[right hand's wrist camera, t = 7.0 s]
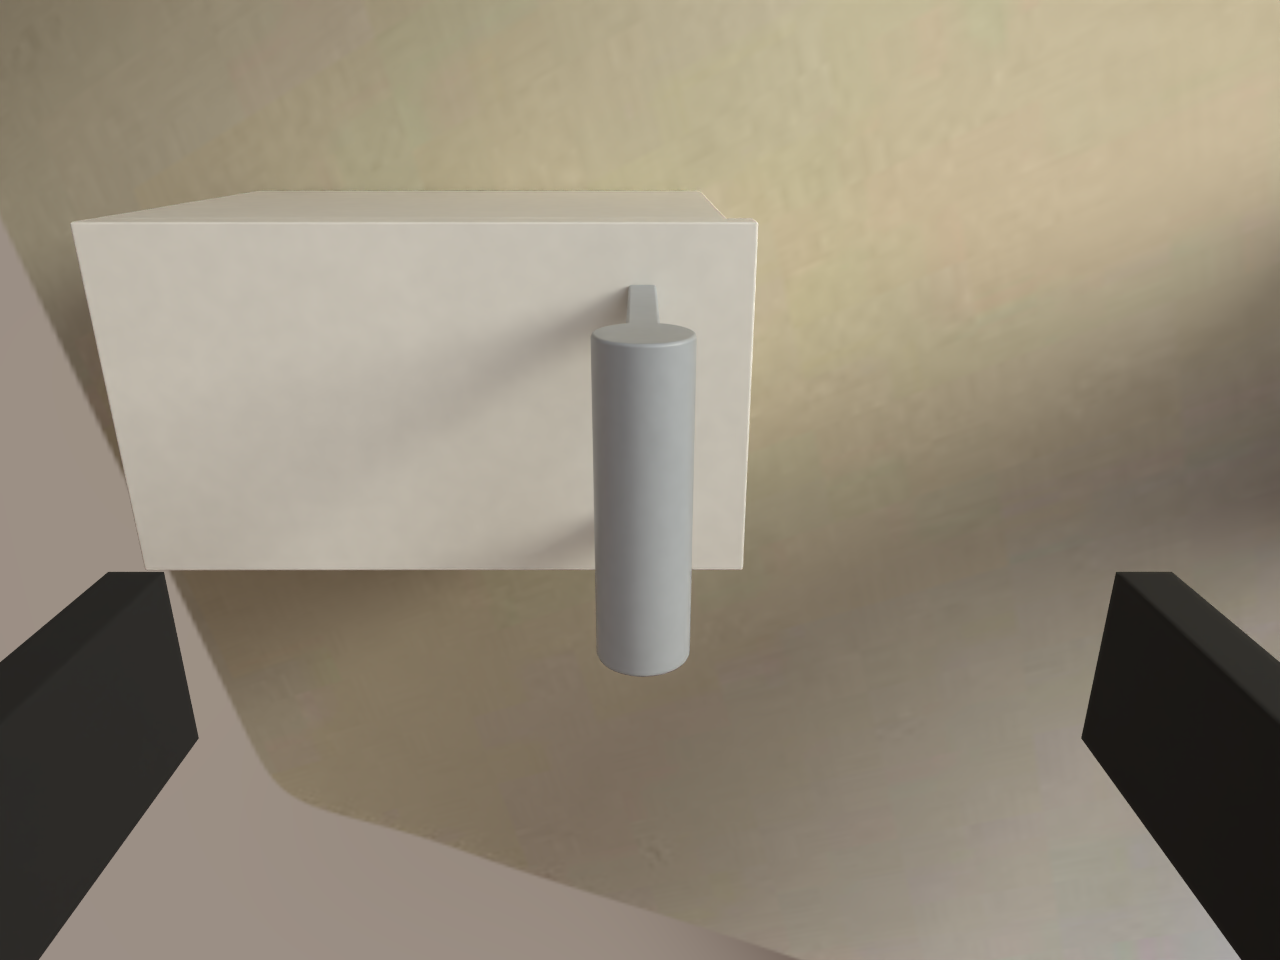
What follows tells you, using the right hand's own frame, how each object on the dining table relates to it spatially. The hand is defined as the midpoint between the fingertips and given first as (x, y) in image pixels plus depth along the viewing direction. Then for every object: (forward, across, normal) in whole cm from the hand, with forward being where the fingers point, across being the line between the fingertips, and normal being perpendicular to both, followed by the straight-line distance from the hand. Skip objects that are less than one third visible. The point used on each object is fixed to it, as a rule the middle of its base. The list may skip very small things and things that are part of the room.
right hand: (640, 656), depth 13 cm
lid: (+13, -6, 0) cm, 14 cm away
